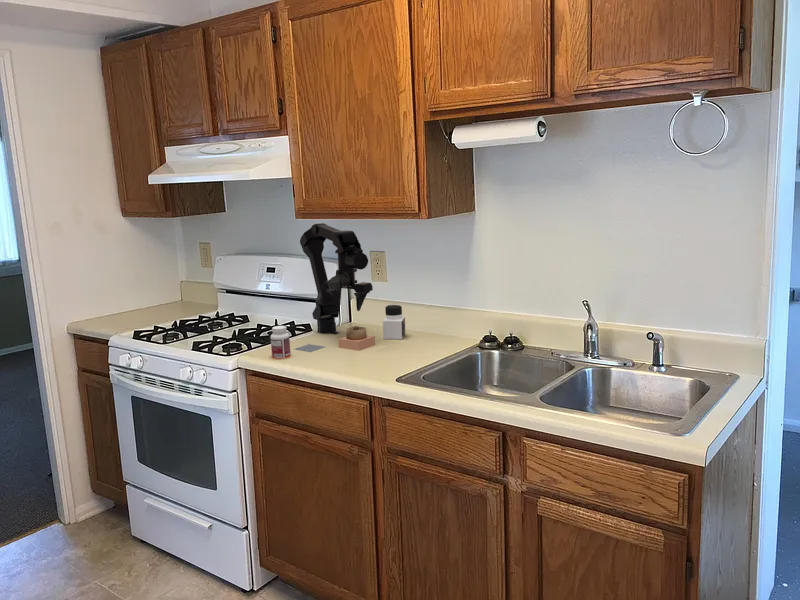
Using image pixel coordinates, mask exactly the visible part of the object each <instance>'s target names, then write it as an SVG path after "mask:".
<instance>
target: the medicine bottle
mask: <svg viewBox="0 0 800 600" xmlns="http://www.w3.org/2000/svg"><path fill="white" fill-rule="evenodd" d="M382 330H383V331H382V332H383V333H382V334H383V340H403V339H404V337H405V336H406V317H405V316H404V315H403V306H401V305H400V304H389V305H386V306H385V318H384V319H382Z"/></svg>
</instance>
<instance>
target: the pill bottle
mask: <svg viewBox="0 0 800 600" xmlns="http://www.w3.org/2000/svg"><path fill="white" fill-rule="evenodd" d="M271 331H272V334H271V335H270V345H271V347H270V348H271V358H272V359H274V360H284V359H288V358H291V356H292V355H291V353H292V352H291V341H290V334H289V333H288V332H287V326H286V325H277V326H276V325H275V326H273V327H272V329H271Z"/></svg>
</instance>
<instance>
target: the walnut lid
mask: <svg viewBox="0 0 800 600" xmlns="http://www.w3.org/2000/svg"><path fill="white" fill-rule="evenodd" d="M366 335H367V328H366V327H363V326H357V325H356V326H355V325H354V326H352V327H348V328H346V329H345V336H346V338H347V339H349V340H361V339H365V338H366Z"/></svg>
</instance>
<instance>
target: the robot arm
mask: <svg viewBox="0 0 800 600" xmlns="http://www.w3.org/2000/svg"><path fill="white" fill-rule="evenodd" d="M326 240H328V241H331V242H332V245H333V246H334V247H336V250H335V254H337V268H338V269H336V270H335V275H334V276H332V277H331V278H330V279H328V275H327V272H326V271H327V270H326V266H325V263H324V259H323V252H324V249H325V244H324V243H325V242H326ZM299 243H300V244H299V245H300V247H301V248H302V252H303V254H305V255H306V256H307V258H309V263H310V267H311V271H312V276H313V279H314V283H315V287H316V292H317V296H316V299H315V307H314V309H313V311H312V313H311V314H312V318H313V320H315V321H316V320H317V321H316V323H317V333H320V334H329V335H330V334H331V335H335V334H338V333H339V331H338V330H337V322H336V319H337V318H339V316H340V309H341V301H342V299H341V298H342V289H348V290H354V292H353V295H354V296H355V301H356V311H357V312H360V311H361V309H362V306H363V304H364V301H365V299H366V297H367V295H368V294H369V293H370V292H371V291H373V290H374V289H373V288H374V287H373V284H372V282H365V281H362V282H358V280H357V279H356V272H358V270H364V269H366V268H367V267H368V264H369V258H368V256H367V254H365V253H364V252H363V251H364V250H363V249H362V247H361V246H362V245H361V243H360V241H359V239H358V237H357V235H356V233H355V232H354V230H340V229H337V228H335V227H332V226H331V225H328V224H326V223H324V222H322V223H313V224H312V226H311V227H309V229H307V230H306V231H304V232H303V234H302V235H301V237H300V240H299Z"/></svg>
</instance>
